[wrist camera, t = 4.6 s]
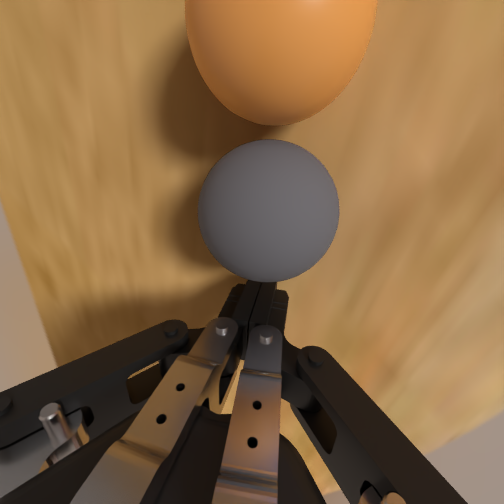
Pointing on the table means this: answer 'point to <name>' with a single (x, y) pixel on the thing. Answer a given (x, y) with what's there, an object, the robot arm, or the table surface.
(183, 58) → the table surface
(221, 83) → the object ball
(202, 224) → the gray ball
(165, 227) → the table surface
